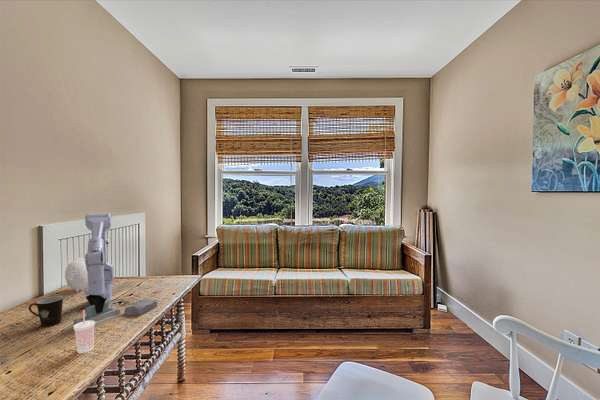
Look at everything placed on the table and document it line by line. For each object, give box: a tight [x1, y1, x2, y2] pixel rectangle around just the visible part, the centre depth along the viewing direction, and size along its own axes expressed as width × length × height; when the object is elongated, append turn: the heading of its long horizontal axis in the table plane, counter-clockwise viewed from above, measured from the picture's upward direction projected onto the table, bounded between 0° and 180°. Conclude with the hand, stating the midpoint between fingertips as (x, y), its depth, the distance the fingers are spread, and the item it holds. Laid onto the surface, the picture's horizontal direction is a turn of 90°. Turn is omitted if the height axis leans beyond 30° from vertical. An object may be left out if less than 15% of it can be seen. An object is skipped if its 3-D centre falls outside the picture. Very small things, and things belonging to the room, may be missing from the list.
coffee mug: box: [28, 295, 64, 328], centre depth 129 cm, size 12×9×10 cm
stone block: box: [124, 298, 158, 317], centre depth 141 cm, size 12×5×10 cm
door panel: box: [85, 301, 110, 320], centre depth 130 cm, size 2×8×6 cm, turn 152°
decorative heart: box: [64, 257, 88, 294], centre depth 169 cm, size 18×11×17 cm, turn 25°
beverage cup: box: [73, 309, 96, 354], centre depth 107 cm, size 6×6×14 cm
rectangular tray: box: [73, 305, 122, 326], centre depth 131 cm, size 7×15×3 cm, turn 152°
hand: (97, 312), depth 130 cm, fingers closed on door panel, 2 cm apart
